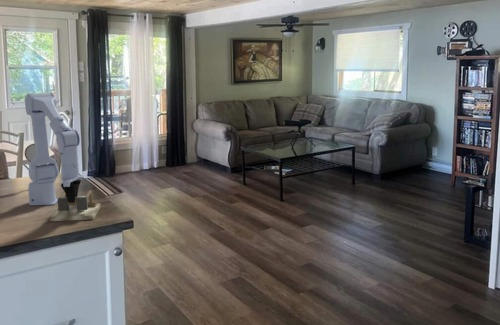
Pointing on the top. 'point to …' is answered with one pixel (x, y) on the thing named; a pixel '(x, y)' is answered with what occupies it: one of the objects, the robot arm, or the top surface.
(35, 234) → the top surface
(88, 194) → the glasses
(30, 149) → the magnifying glass
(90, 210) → the stand
